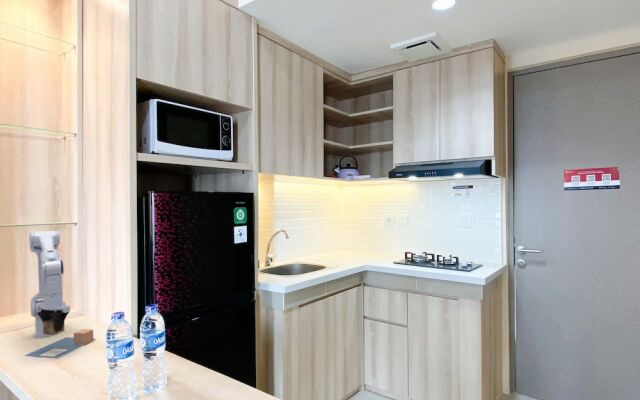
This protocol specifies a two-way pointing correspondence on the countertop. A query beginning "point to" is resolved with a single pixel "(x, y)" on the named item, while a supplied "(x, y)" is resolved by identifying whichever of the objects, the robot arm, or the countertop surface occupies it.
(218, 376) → the countertop surface
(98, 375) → the countertop surface
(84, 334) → the terracotta block
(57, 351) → the blueprint board
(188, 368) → the countertop surface
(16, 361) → the countertop surface
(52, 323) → the walnut block
